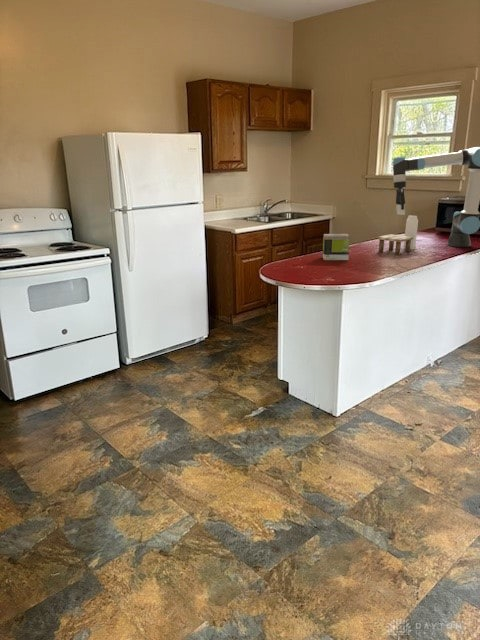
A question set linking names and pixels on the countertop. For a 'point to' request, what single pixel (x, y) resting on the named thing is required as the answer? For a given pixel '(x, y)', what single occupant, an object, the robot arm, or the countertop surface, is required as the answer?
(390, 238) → the small table
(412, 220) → the milk
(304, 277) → the countertop surface
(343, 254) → the tea box
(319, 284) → the countertop surface
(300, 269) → the countertop surface
